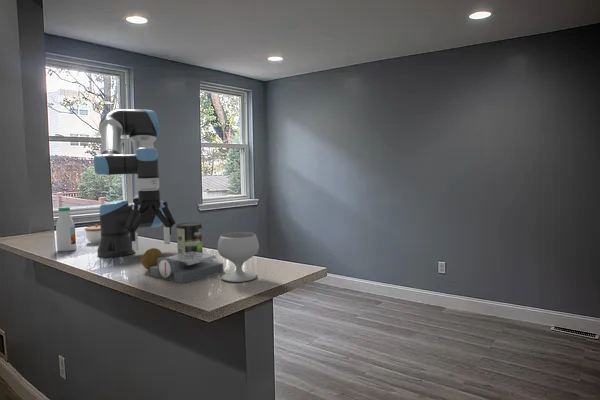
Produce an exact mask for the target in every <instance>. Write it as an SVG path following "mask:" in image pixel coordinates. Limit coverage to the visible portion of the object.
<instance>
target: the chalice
mask: <svg viewBox="0 0 600 400" xmlns="http://www.w3.org/2000/svg"><path fill="white" fill-rule="evenodd" d="M259 250H260V244H259V239H258V237H257V235H256V233H254V232H250V231H235V232H225V233H223V234H221V235H220V237H219V239H218V243H217V252H218V254H219V256H220V257H222V258H223V259H226V260H228V261H230V263H231V262H232V263H233V264H234V266H235V268H236V269H235V271H234V272H230V273H229V272H228V273H226V274H224V275H222V276H221V277H220V279H221V280H222V281H225V282H229V283H241V282H242V283H243V282H249V281H252V280H255V279H256V278H258V275H257V274H256V273H254V272H250V271H243V269H242V268H243V265H244V263H245V262H247V261H248V260H250V259H251V258H252V257H255V255H257V254H258V252H259Z"/></svg>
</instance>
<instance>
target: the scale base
mask: <svg viewBox="0 0 600 400" xmlns="http://www.w3.org/2000/svg"><path fill="white" fill-rule="evenodd" d="M222 272H224V263H223V262H216V261H213V260H212V261H207V260H206V261H202V262H199V263H195V264H191V265H183V264H179V261H178V260H174V259H169V258H165V257H161V258H157V266H153V267H150V270H149V276H151V277H155V278H159V279H162V280H163V279H164V280H167V281H172V282H175V283H180V284H186V283H189V282H190V283H191V282H193V281H196V280H199V279H202V278H203V279H204V278H207V277H210V276H213V275H217V274H220V273H222Z"/></svg>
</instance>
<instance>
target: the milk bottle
mask: <svg viewBox="0 0 600 400" xmlns="http://www.w3.org/2000/svg"><path fill="white" fill-rule="evenodd" d="M70 208H71V207H70V206H63V207H58V213H59V215H58V219H57V220H56V222H55V223H56V224H55V232H56V246H57V251H58V252H69V251H74V250H76V249H77V241H76V239H77V238H76V228H75V227H76V226H75V225H76V224H75V222H74V219H73V218H72V217H71V214H70V213H71V209H70Z"/></svg>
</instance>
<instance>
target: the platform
mask: <svg viewBox="0 0 600 400" xmlns="http://www.w3.org/2000/svg"><path fill="white" fill-rule="evenodd" d="M164 258H169V259H174V260H178V261H179V264H183V265H191V264H195V263H199V262H202V261H206V260H210V259H212V260H214V259H216V258H217V255H216V254H210V253H206V252H205V253H204V252H203V253H199V252H193V251H191V252H187V253H183V254H178V253H177V254H174V255H170V256H167V257H164Z"/></svg>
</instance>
